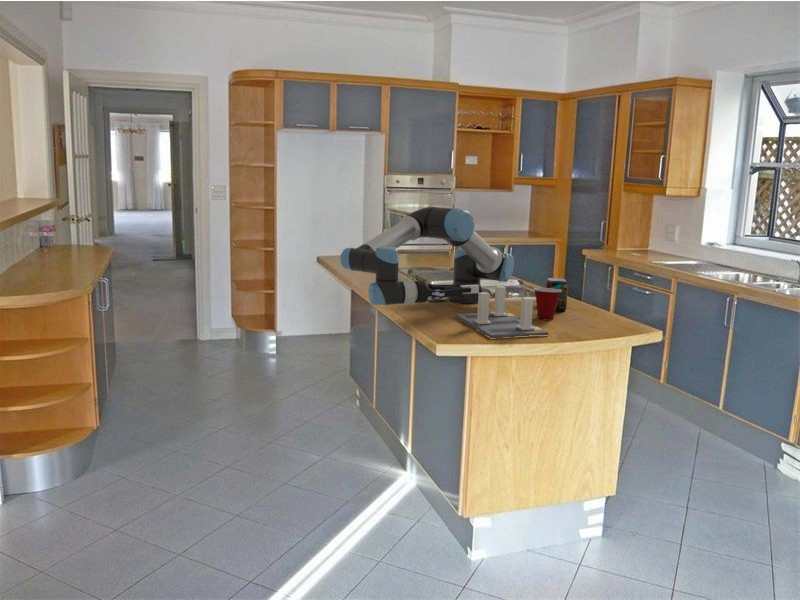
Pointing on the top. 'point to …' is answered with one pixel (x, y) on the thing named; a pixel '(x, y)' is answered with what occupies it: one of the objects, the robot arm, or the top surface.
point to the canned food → (550, 280)
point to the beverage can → (561, 295)
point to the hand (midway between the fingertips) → (478, 288)
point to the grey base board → (499, 325)
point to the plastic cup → (546, 302)
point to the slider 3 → (526, 314)
